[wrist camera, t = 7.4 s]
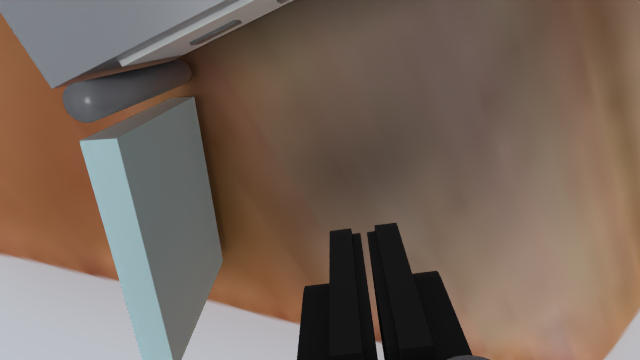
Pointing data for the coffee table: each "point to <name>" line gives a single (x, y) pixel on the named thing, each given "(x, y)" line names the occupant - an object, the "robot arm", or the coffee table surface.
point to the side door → (158, 220)
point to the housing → (121, 44)
